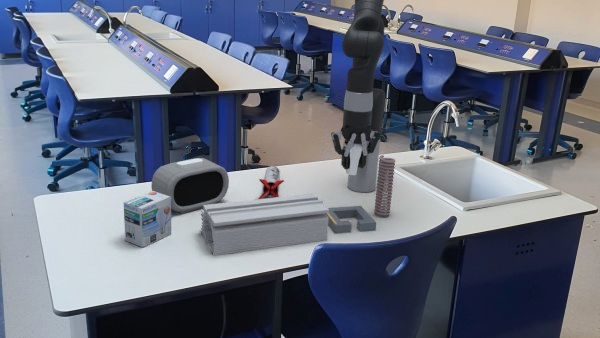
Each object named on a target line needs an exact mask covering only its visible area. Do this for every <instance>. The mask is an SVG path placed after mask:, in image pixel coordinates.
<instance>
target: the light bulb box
mask: <svg viewBox="0 0 600 338" xmlns="http://www.w3.org/2000/svg"><path fill="white" fill-rule="evenodd" d="M123 219H124V223H123V224H124V238H125V239H124V240H125V241H126V242H128V243H131V244H133V245H135V246H137V247H141V248H145V247H147V246H149V245H151V244H153V243H155V242H157V241H160V240H162V239H164V238H166V237H168V236H171V235H172V209H171V197H170V196H167V195H164V194H161V193H158V192H155V191H152V190H151V191H150V192H147V193H144V194H141V195H139V196H137V197H134V198H131V199H129V200H125V201H123Z"/></svg>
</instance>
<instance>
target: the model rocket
mask: <svg viewBox="0 0 600 338" xmlns="http://www.w3.org/2000/svg"><path fill="white" fill-rule="evenodd" d="M280 175H281V171H280V169H279V168H278V167H277V166H276V165H270V166H268V167H267V168H266V170H265V174H264V179H262V178H259V182H260V183H261V184H262V194H261V195H260V196H259V197H258V199H265V197H267V198H275V197H280V196H279V194H278V193H279V188H280V187H279V186H280V185H281V184H283V183H285V180H284V179H281V180H280Z"/></svg>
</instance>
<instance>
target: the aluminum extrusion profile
mask: <svg viewBox="0 0 600 338" xmlns="http://www.w3.org/2000/svg"><path fill="white" fill-rule="evenodd" d="M323 201H324V200H322V199H319V196H315V195H314V194H313V193H307V194H306V193H305V194H298V195H297V194H296V195H287V196H286V195H285V196H279V197H266V198H263V199H259V198H258V199H257V198H256V199H248V200H239V201H237V200H236V201H230V202H228V201H227V202H220V203H218V202H217V203H215V204H209V205H203V208H202V209H201V210H200V212H201V213H200V216H201V219H200V220H201V221H202V222H201V227H200V229H201V231H200V232H201V235H202V236H203V238H204V241H206V243H207V245H208V247H209V249H210V250H211V252H212V254H213V256H221V255H226V254H227V255H228V254H234V253H242V252H250V251H257V250H264V249H273V248H278V247H286V246H292V245H300V244H301V245H302V244H309V243H314V242H321V241H322V242H323V241H327V240H328V229H329V225H328V219H329V218H328V216H327V215H325V214H324V213H329V209H328V208H329V207H327V206H326V205H325V204H324V202H323Z"/></svg>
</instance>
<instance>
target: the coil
mask: <svg viewBox="0 0 600 338" xmlns="http://www.w3.org/2000/svg"><path fill="white" fill-rule="evenodd" d="M395 166H396V159H395V158H392V157H385V155H384V154H381V155H379V158H378V169H377V178H376V188H375V190H376V192H375V199H374V201H375V202H374V210H373V211H374V214H377V215H379V216H389V215H390V214H391V207H392V205H391V203H392V195H393V193H392V192H393V187H394V185H393V184H394V183H393V182H394V177H395V176H394V175H395V169H396V168H395Z"/></svg>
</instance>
